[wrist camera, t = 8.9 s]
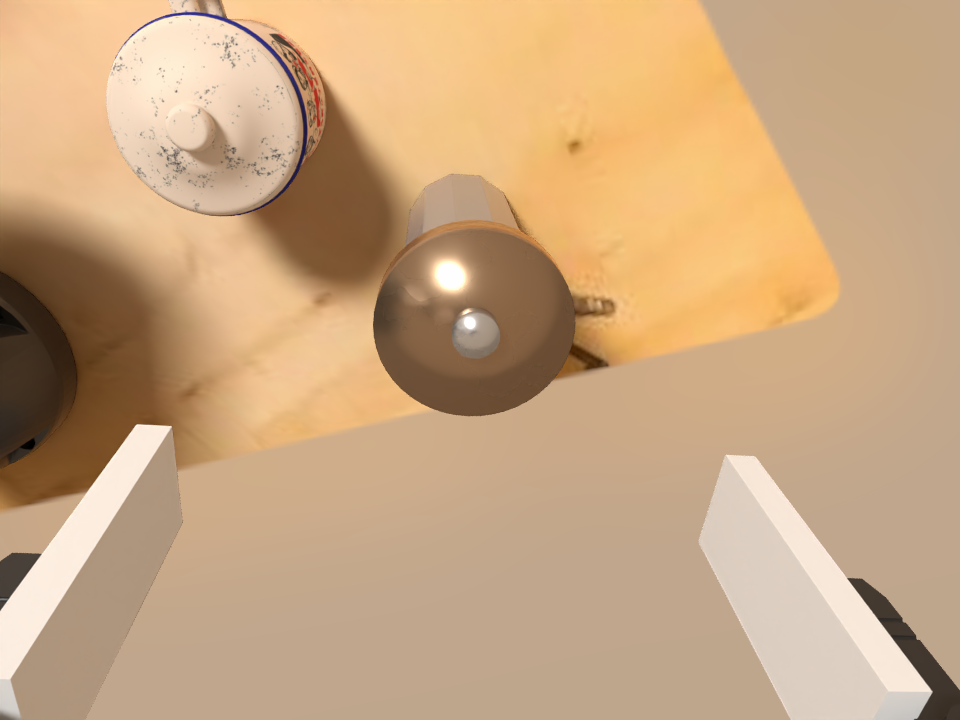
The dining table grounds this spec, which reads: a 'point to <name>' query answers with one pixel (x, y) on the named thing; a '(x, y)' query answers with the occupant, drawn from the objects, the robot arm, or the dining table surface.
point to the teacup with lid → (214, 108)
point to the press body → (458, 204)
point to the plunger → (473, 318)
